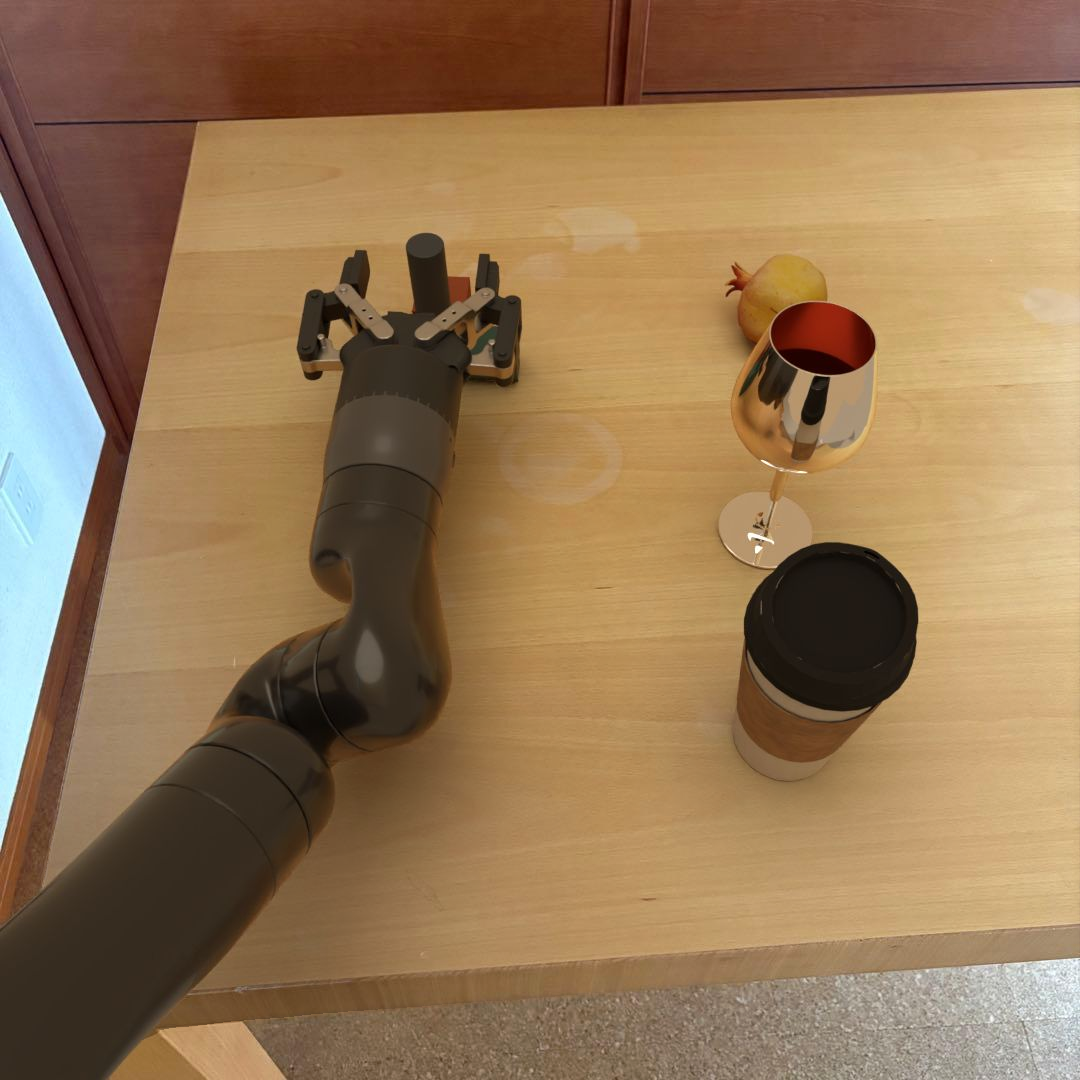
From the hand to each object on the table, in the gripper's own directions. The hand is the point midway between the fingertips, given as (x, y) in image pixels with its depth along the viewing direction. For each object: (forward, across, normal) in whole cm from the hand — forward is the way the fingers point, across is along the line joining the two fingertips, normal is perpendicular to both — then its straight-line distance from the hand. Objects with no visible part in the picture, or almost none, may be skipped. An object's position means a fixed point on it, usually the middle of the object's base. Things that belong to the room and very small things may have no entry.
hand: (424, 261), depth 70 cm
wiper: (-1, 0, +10) cm, 10 cm away
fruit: (+4, -26, +10) cm, 28 cm away
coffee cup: (-30, -24, +10) cm, 40 cm away
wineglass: (-15, -24, +10) cm, 30 cm away
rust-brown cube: (+3, 0, +10) cm, 11 cm away
